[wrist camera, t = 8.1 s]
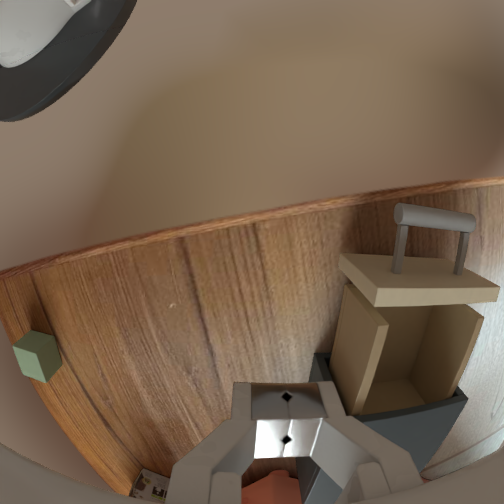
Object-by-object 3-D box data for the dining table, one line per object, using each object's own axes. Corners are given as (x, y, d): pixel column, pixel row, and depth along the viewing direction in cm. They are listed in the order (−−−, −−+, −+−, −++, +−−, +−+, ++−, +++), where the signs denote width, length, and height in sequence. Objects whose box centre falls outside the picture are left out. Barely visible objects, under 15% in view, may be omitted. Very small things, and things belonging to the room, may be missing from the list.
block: (30, 329, 26) (12, 345, 22) (54, 335, 26) (36, 353, 22) (39, 357, 27) (22, 374, 23) (62, 364, 27) (46, 383, 23)
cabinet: (314, 352, 26) (338, 425, 17) (423, 345, 26) (469, 398, 17) (293, 445, 30) (302, 507, 20) (385, 434, 30) (408, 487, 21)
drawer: (345, 193, 22) (390, 203, 14) (454, 209, 22) (513, 224, 14) (315, 385, 26) (332, 444, 19) (412, 376, 26) (444, 422, 19)
